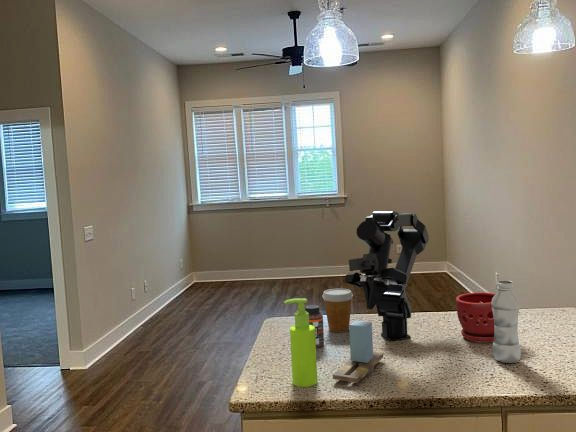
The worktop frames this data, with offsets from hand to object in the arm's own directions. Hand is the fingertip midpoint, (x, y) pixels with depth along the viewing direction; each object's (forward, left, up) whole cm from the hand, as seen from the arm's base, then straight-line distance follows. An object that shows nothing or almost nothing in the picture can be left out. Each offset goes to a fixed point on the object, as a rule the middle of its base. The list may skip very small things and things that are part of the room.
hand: (369, 309), depth 137 cm
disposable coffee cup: (-3, -25, -13) cm, 29 cm away
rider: (+7, +7, -11) cm, 15 cm away
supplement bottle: (+10, -15, -13) cm, 22 cm away
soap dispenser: (+23, +8, -13) cm, 27 cm away
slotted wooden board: (+8, +8, -13) cm, 17 cm away
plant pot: (-34, +3, -13) cm, 36 cm away
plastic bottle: (-27, +20, -13) cm, 36 cm away
